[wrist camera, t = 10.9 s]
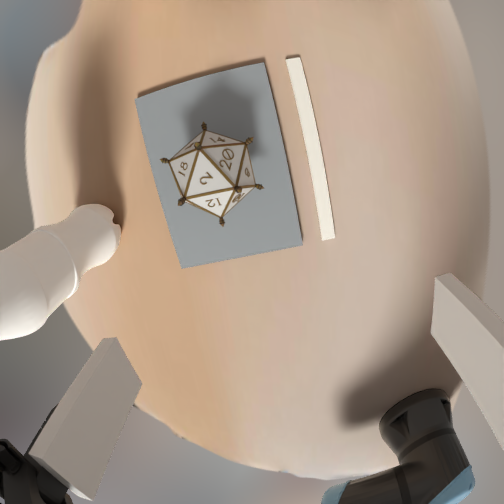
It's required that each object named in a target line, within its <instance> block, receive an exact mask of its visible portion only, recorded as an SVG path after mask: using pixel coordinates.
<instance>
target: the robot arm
mask: <svg viewBox="0 0 504 504" xmlns="http://www.w3.org/2000/svg"><path fill="white" fill-rule="evenodd" d="M431 335H432V336H433V337H434V339H435V340H436V342H437V343H438V344H439V346H440V347H441V349H442V350H443V352H444V353H445V355H446V356H447V358H448V359H449V360H450V362H451V363H452V365H453V366H454V368H455V370H456V371H457V373H458V374H459V376H460V377H461V379H462V380H463V382H464V383H465V385H466V387H467V388H468V389H469V391H470V393H471V394H472V396H473V398H474V399H475V401H476V403H477V404H478V406H479V408H480V410H481V411H482V413H483V415H484V416H485V418H486V420H487V422H488V423H489V425H490V427H491V428H492V430H493V432H494V434H495V436H496V438H497V440H498V442H499V444H500V445H501V447H502V449H503V450H504V322H503V320H502V319H500V318H499V317H498V316H497V315H496V314H495V313H494V312H493V311H492V310H491V309H490V308H489V307H488V306H487V305H486V304H485V303H484V302H483V301H482V300H481V299H480V298H479V297H477V296H476V295H475V294H474V293H473V292H472V291H471V290H470V289H469V288H467V287H466V286H465V285H464V284H463V283H462V282H461V281H460V280H458V279H457V278H456V277H455V276H454V275H453V274H451V273H447V274H444V275H440V276H437V277H435V288H434V303H433V315H432V325H431ZM141 386H142V382H141V380H140V379H139V377H138V375H137V374H136V372H135V370H134V368H133V367H132V365H131V363H130V361H129V360H128V358H127V356H126V354H125V352H124V351H123V349H122V347H121V345H120V343H119V341H118V339H117V338H116V337H115V338H104V339H102V341H101V342H100V344H99V345H98V346H97V348H96V349H95V351H94V352H93V353H92V355H91V356H90V358H89V359H88V361H87V362H86V364H85V365H84V366H83V368H82V369H81V371H80V372H79V374H78V375H77V377H76V378H75V380H74V381H73V383H72V384H71V386H70V387H69V389H68V390H67V392H66V393H65V395H64V396H63V398H62V399H61V401H60V403H59V404H58V405H56V406H55V407H54V408H53V409H52V410H51V412H50V413H49V415H48V417H47V418H46V421H44V423H43V425H42V426H41V427H42V428H40V430H39V431H38V433H37V435H36V436H35V438H34V439H33V441H32V443H31V444H30V446H29V448H28V450H27V451H26V453H25V454H24V456H23V455H22V454H21V453H20V452H19V451H18V450H17V449H16V448H15V447H14V446H13V445H12V444H11V443H10V442H9V441H8V440H7V439H0V497H2V498H3V499H4V500H5V504H73V503H72V500H71V498H70V496H69V495H68V494H67V493H66V492H67V490H68V489H70V490H71V491H72V492H73V493H75V494H76V495H77V496H79V497H82V498H85V499H88V500H91V501H94V498H95V496H96V493H97V490H98V488H99V485H100V483H101V480H102V477H103V475H104V472H105V470H106V467H107V465H108V462H109V460H110V458H111V455H112V453H113V450H114V448H115V445H116V443H117V441H118V438H119V436H120V433H121V431H122V429H123V427H124V424H125V422H126V420H127V417H128V415H129V413H130V410H131V408H132V406H133V404H134V401H135V399H136V397H137V395H138V392H139V390H140V388H141ZM379 430H380V433H381V436H382V438H383V440H384V441H385V442H386V444H387V445H388V446H389V447H390V448H391V450H392V451H393V452H394V453H395V454H396V456H397V457H398V461H399V464H400V465H399V466H396V467H394V468H391V469H388V470H385V471H382V472H379V473H376V474H373V475H370V476H367V477H364V478H360V479H356V480H349V481H347V482H346V483H343V484H339V485H336V486H333V487H330V488H329V489H328V490H327V491H326V492H325V493H324V496H323V498H322V502H321V504H457V503H459V502H460V501H461V500H463V499H464V498H465V497H466V496H467V495H468V494H469V493H470V492H471V491H472V490H473V488H474V486H475V478H474V476H473V472H472V466H471V465H470V464H469V462H468V459H467V457H466V455H465V453H464V450H463V448H462V446H461V444H460V441H459V439H458V437H457V435H456V433H455V431H454V429H453V423H452V412H451V403H450V400H449V398H448V396H447V395H446V393H445V392H444V391H443V390H440V389H430V390H425V391H422V392H419V393H416V394H414V395H412V396H410V397H408V398H406V399H404V400H402V401H401V402H399V403H398V404H396V405H395V406H394V407H393V408H391V409H390V410H389V411H388V412H387V413H386V414H385V415H384V417H383V418H382V420H381V422H380V424H379ZM0 504H1V503H0Z"/></svg>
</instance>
